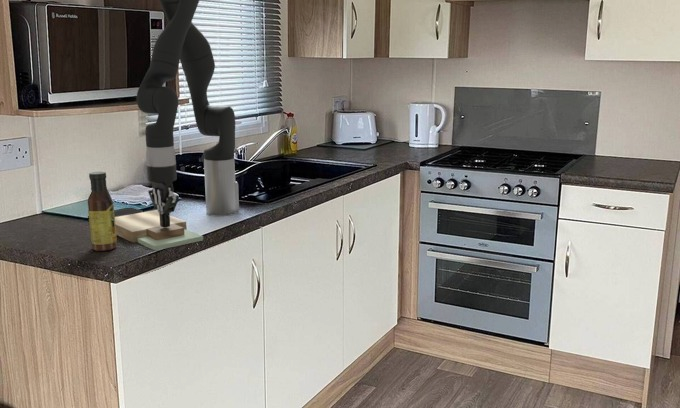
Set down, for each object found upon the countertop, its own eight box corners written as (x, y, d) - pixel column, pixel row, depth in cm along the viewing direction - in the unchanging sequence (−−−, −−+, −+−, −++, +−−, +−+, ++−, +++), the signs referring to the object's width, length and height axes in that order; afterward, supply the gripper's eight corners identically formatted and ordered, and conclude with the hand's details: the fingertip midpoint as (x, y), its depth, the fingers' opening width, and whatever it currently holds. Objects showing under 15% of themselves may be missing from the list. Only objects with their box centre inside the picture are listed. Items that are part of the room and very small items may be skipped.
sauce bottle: (119, 249, 176) (113, 173, 171) (94, 253, 173) (87, 176, 168) (114, 243, 181) (108, 169, 177) (89, 246, 178) (82, 171, 174)
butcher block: (156, 219, 205) (155, 210, 205) (186, 231, 192) (186, 221, 192) (104, 229, 195) (103, 219, 194) (133, 242, 182) (132, 231, 181)
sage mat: (184, 232, 191) (184, 228, 191) (203, 240, 184) (203, 236, 184) (137, 242, 182) (137, 238, 182) (155, 250, 175) (155, 246, 175)
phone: (143, 210, 213) (100, 220, 202) (143, 214, 213) (100, 223, 202) (129, 207, 218) (85, 215, 207) (129, 210, 218) (86, 219, 207)
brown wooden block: (173, 230, 189) (173, 223, 189) (184, 234, 185) (184, 227, 184) (146, 235, 184) (146, 228, 183) (157, 240, 180) (156, 233, 179)
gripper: (186, 164, 178) (190, 229, 182) (162, 158, 187) (166, 219, 191) (160, 168, 173) (164, 234, 177) (136, 161, 182) (140, 224, 186)
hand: (165, 226), depth 184 cm, fingers closed
